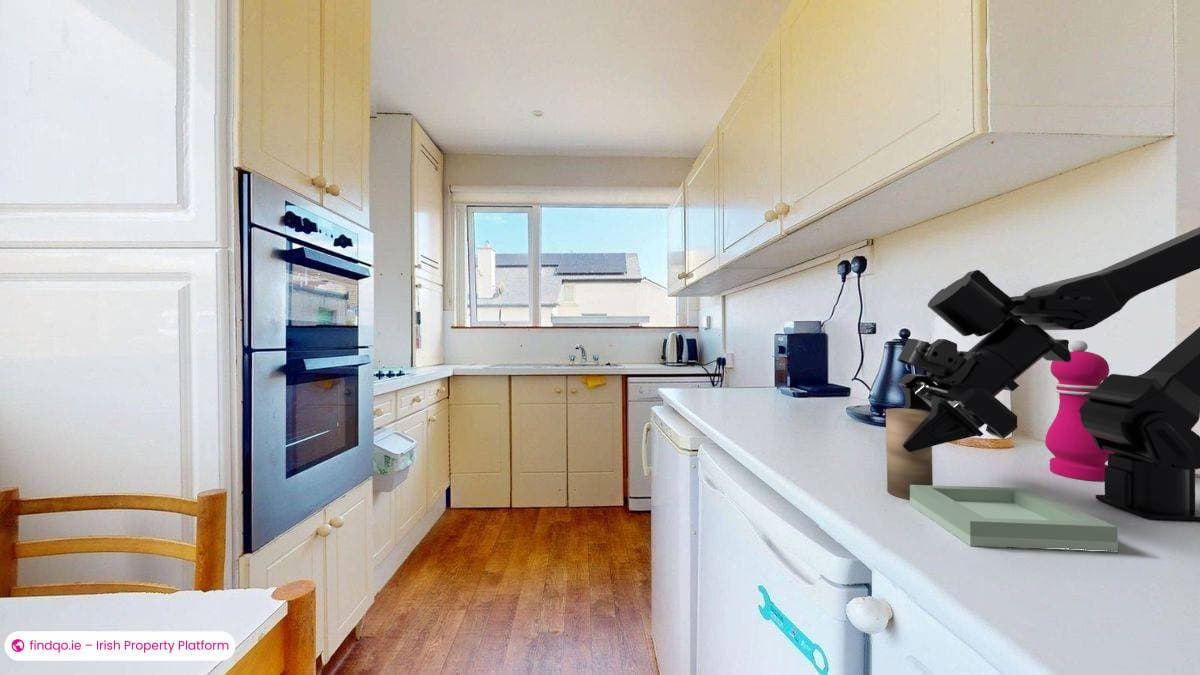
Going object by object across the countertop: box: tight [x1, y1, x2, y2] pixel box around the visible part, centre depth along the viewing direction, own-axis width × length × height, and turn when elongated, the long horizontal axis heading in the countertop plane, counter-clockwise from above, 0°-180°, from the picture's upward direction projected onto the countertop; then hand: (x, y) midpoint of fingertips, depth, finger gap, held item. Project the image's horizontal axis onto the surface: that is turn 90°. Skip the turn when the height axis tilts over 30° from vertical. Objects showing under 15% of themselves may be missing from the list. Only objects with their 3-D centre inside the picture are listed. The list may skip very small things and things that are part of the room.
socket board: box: [909, 485, 1119, 551], centre depth 50 cm, size 13×11×2 cm
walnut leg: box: [885, 407, 934, 501], centre depth 60 cm, size 5×5×11 cm
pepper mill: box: [1044, 340, 1114, 482], centre depth 67 cm, size 7×7×20 cm
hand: (897, 444), depth 60 cm, fingers closed on walnut leg, 5 cm apart
